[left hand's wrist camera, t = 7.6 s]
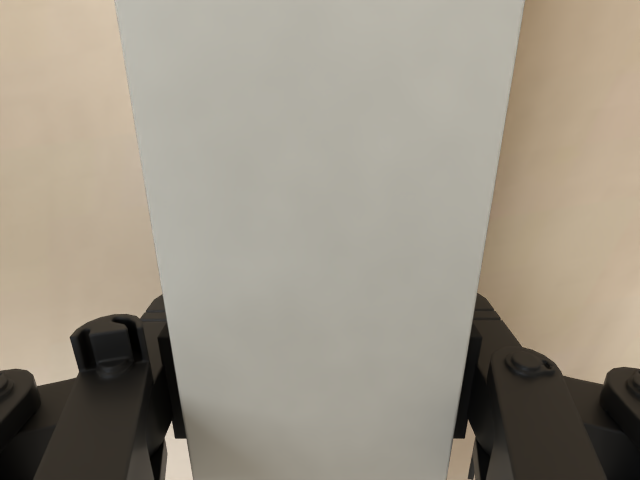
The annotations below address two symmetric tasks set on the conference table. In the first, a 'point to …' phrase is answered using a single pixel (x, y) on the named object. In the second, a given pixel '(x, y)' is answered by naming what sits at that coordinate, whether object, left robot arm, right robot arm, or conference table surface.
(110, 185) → the conference table surface
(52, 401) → the left robot arm
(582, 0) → the conference table surface
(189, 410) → the bar
